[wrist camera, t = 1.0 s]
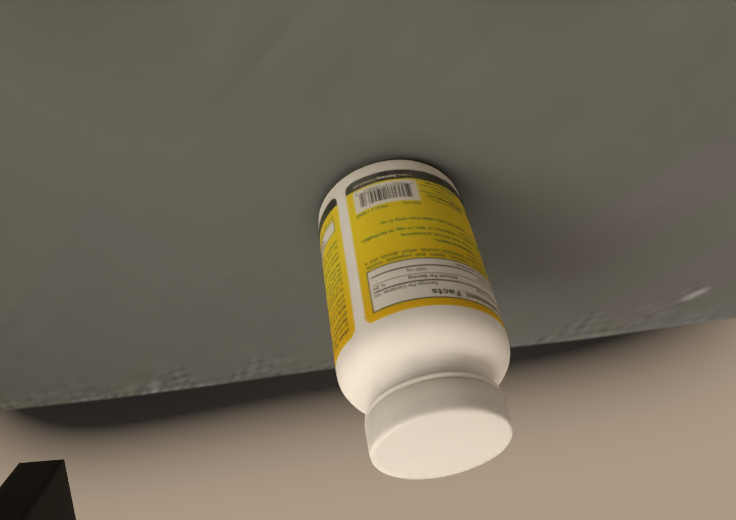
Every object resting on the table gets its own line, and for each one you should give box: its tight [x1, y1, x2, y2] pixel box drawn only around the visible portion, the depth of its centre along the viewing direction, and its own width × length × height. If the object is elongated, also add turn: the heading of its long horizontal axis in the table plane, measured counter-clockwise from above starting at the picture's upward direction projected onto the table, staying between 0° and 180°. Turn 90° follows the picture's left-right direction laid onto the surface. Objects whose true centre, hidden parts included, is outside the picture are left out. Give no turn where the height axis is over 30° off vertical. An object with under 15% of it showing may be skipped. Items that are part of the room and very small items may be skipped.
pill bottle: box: [318, 160, 513, 479], centre depth 25 cm, size 6×6×11 cm
